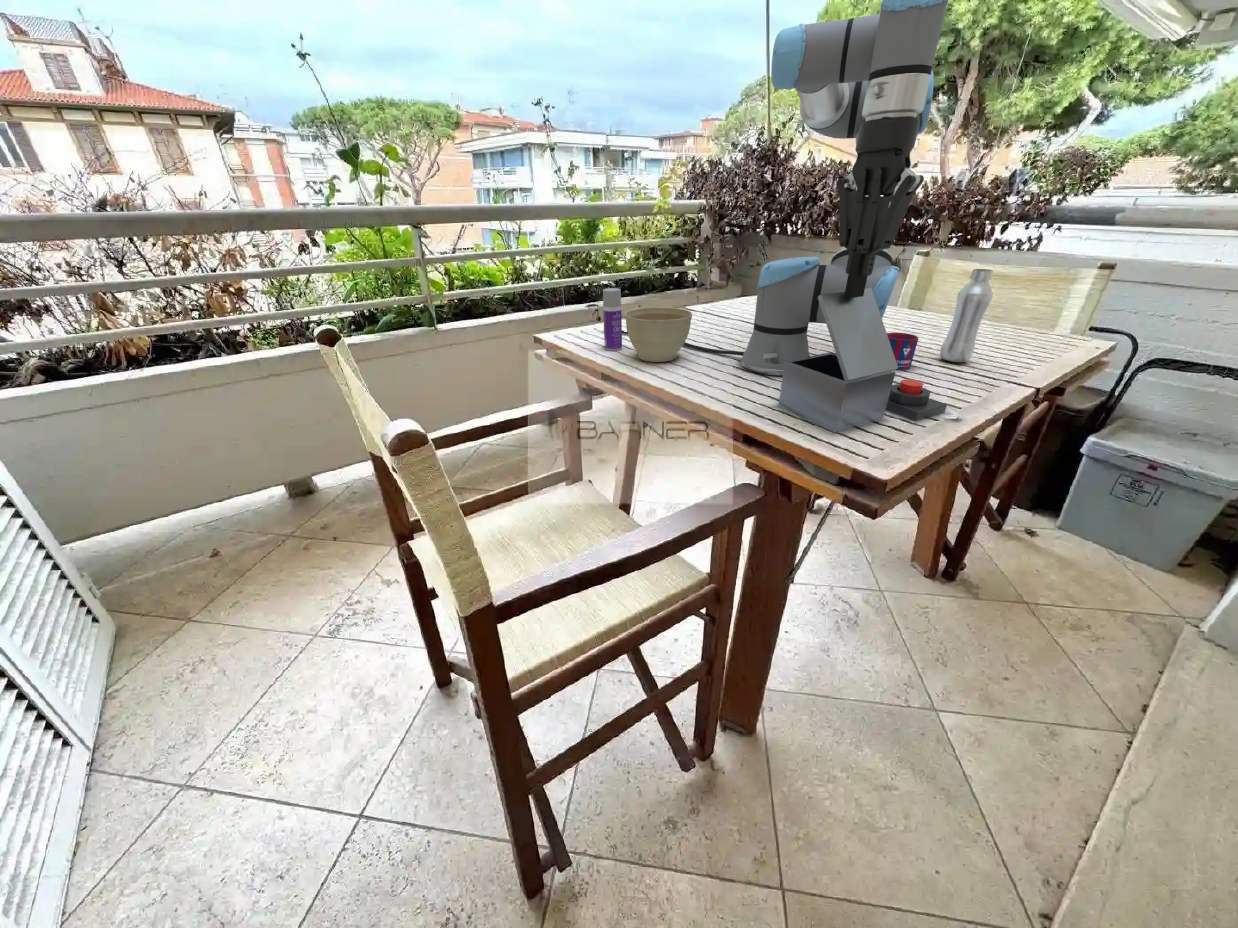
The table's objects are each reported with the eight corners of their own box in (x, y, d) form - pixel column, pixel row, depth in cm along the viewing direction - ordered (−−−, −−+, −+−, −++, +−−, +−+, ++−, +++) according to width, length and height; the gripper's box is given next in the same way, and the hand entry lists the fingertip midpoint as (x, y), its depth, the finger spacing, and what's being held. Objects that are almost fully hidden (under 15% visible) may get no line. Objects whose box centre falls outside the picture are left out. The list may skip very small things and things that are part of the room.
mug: (886, 370, 108) (894, 340, 105) (866, 357, 117) (872, 329, 113) (916, 370, 108) (925, 339, 105) (893, 357, 117) (900, 328, 113)
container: (615, 351, 126) (614, 291, 119) (601, 349, 128) (598, 290, 121) (625, 347, 129) (624, 288, 122) (610, 345, 132) (609, 287, 124)
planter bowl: (703, 358, 119) (706, 313, 114) (652, 371, 111) (653, 323, 106) (661, 345, 131) (662, 303, 125) (612, 356, 123) (611, 312, 117)
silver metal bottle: (960, 357, 116) (990, 267, 106) (975, 365, 110) (1008, 272, 100) (932, 356, 116) (958, 268, 107) (945, 365, 110) (975, 272, 101)
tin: (777, 406, 91) (784, 361, 87) (822, 395, 96) (831, 352, 91) (835, 433, 80) (846, 383, 76) (882, 420, 85) (895, 371, 81)
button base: (866, 403, 92) (870, 385, 90) (894, 395, 95) (899, 378, 93) (915, 421, 84) (921, 403, 82) (944, 412, 87) (950, 394, 85)
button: (893, 390, 89) (896, 381, 88) (906, 387, 90) (909, 378, 89) (911, 396, 86) (914, 387, 85) (924, 393, 87) (927, 383, 86)
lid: (817, 296, 77) (820, 294, 77) (867, 289, 82) (871, 287, 81) (845, 381, 76) (848, 380, 76) (894, 370, 81) (898, 368, 80)
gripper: (832, 123, 70) (805, 293, 82) (916, 110, 60) (872, 306, 71) (868, 125, 73) (837, 288, 85) (954, 113, 63) (905, 300, 74)
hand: (853, 296), depth 78 cm, fingers closed
